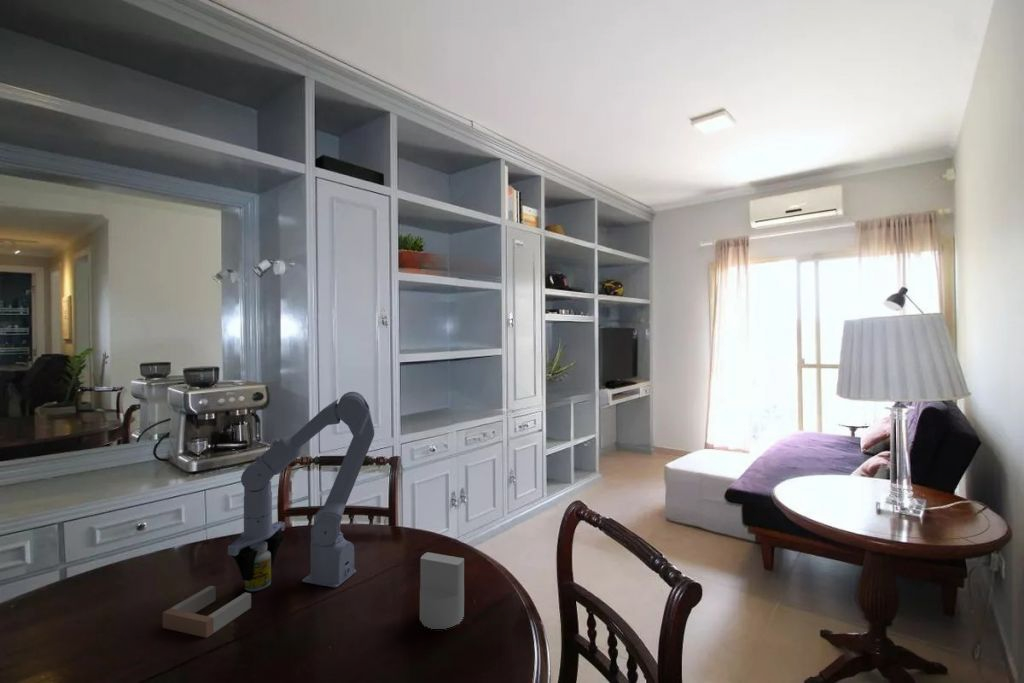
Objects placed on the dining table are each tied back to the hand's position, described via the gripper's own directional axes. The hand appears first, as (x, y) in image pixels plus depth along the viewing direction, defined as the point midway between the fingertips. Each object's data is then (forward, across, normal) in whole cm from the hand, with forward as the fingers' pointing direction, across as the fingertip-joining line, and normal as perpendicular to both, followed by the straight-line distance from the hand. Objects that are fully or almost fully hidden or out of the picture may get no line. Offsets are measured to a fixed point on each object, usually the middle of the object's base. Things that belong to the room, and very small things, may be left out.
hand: (257, 573), depth 109 cm
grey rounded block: (+3, -1, +46) cm, 46 cm away
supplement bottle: (+3, 0, 0) cm, 3 cm away
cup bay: (+3, +12, 0) cm, 12 cm away
